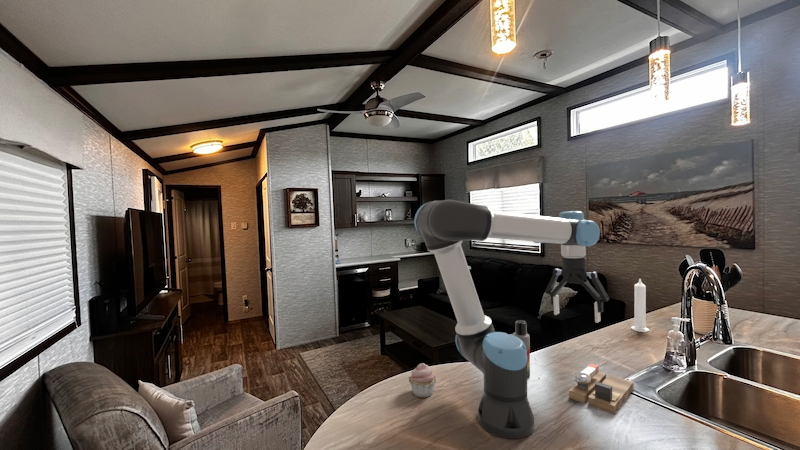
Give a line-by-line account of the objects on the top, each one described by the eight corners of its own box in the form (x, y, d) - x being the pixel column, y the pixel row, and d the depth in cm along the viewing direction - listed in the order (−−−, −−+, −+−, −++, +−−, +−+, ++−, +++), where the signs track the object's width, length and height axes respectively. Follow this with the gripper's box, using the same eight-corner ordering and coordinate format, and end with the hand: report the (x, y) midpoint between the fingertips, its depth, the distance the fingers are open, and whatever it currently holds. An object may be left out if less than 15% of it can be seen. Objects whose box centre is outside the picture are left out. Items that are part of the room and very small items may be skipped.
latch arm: (587, 386, 107) (587, 379, 107) (572, 381, 110) (572, 375, 110) (601, 373, 115) (601, 366, 115) (587, 368, 118) (587, 362, 118)
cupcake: (424, 404, 106) (424, 372, 106) (402, 393, 113) (402, 363, 113) (443, 392, 113) (442, 362, 113) (421, 383, 120) (420, 354, 119)
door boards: (614, 414, 99) (614, 392, 99) (569, 398, 108) (569, 377, 108) (633, 389, 112) (633, 369, 112) (591, 376, 122) (591, 358, 121)
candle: (634, 326, 172) (634, 276, 172) (650, 329, 167) (651, 278, 166) (629, 329, 168) (629, 278, 167) (646, 333, 162) (646, 280, 162)
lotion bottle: (531, 380, 120) (530, 323, 119) (514, 379, 121) (513, 323, 120) (528, 373, 125) (528, 318, 125) (512, 372, 126) (511, 318, 126)
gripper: (618, 257, 111) (621, 322, 112) (543, 253, 130) (546, 308, 131) (610, 260, 106) (613, 328, 107) (533, 255, 125) (536, 313, 126)
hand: (576, 317), depth 119 cm, fingers open, 13 cm apart
